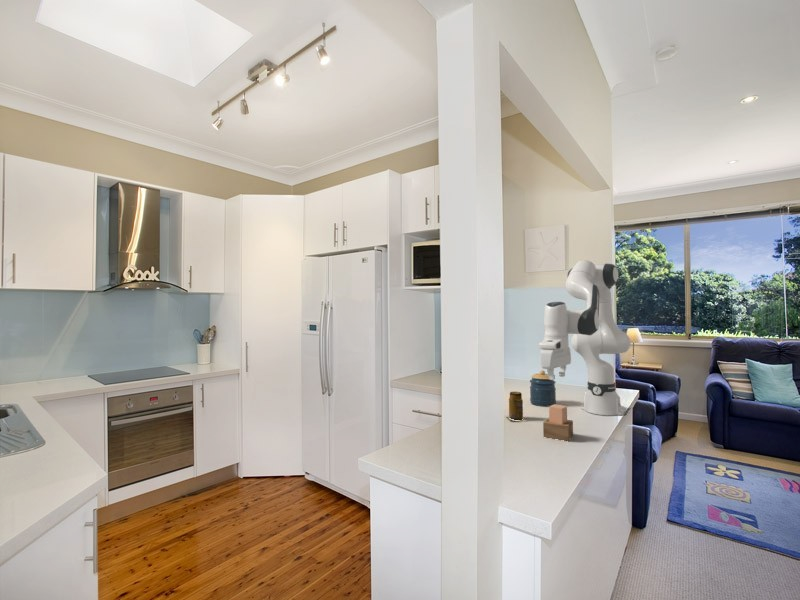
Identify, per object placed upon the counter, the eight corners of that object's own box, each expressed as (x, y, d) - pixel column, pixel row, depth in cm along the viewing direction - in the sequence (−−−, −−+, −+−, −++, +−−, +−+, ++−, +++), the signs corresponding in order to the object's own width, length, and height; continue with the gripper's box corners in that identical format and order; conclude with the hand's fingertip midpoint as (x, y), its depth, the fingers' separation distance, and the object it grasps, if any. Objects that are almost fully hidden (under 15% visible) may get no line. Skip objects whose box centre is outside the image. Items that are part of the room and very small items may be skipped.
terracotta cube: (554, 419, 157) (554, 404, 157) (567, 421, 153) (566, 406, 153) (549, 421, 153) (549, 406, 153) (562, 424, 150) (561, 408, 150)
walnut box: (549, 432, 160) (549, 417, 160) (573, 435, 154) (572, 420, 155) (543, 438, 152) (543, 422, 152) (568, 442, 147) (567, 426, 147)
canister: (561, 404, 205) (560, 370, 205) (546, 408, 197) (545, 373, 198) (540, 399, 215) (539, 367, 216) (524, 403, 208) (524, 370, 209)
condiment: (521, 416, 182) (520, 390, 183) (527, 421, 174) (527, 394, 174) (505, 417, 182) (505, 391, 182) (511, 422, 174) (510, 395, 174)
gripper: (559, 340, 164) (560, 373, 164) (537, 344, 149) (537, 380, 149) (574, 341, 159) (575, 375, 159) (553, 345, 145) (554, 382, 145)
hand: (557, 378), depth 154 cm, fingers open, 8 cm apart
